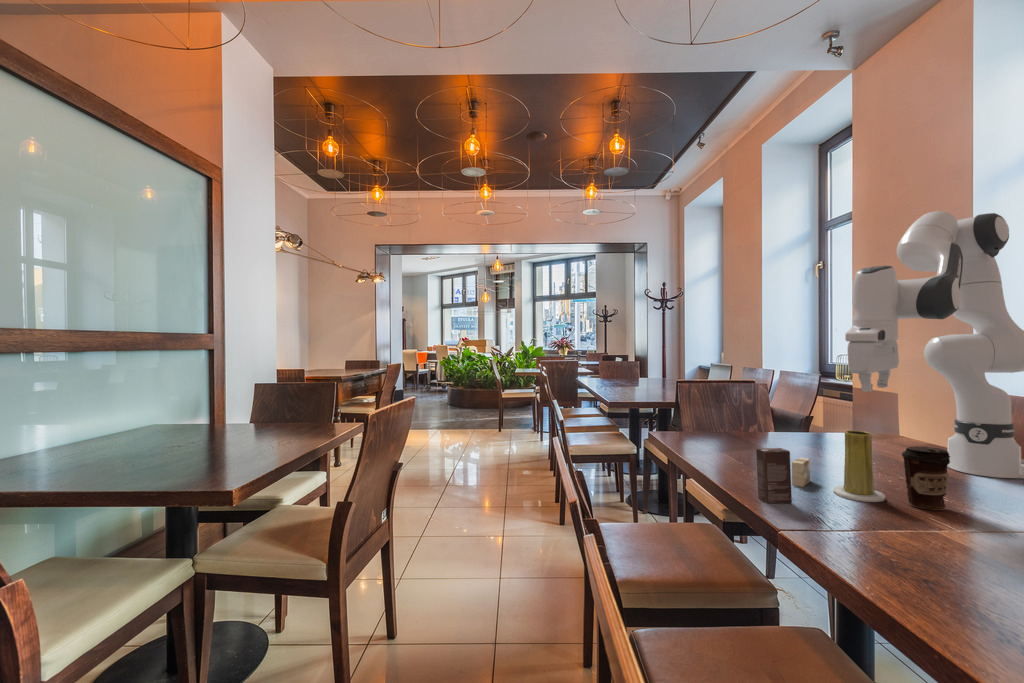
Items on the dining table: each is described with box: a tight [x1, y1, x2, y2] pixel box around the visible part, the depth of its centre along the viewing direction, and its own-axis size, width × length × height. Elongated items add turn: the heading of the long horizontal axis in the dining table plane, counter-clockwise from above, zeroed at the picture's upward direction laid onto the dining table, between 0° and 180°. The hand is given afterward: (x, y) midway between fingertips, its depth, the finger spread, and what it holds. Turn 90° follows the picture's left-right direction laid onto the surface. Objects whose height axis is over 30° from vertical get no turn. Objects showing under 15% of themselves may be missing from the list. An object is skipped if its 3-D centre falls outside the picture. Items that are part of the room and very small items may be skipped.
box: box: [755, 447, 793, 504], centre depth 111 cm, size 6×4×12 cm
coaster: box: [833, 485, 886, 503], centre depth 114 cm, size 10×10×1 cm
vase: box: [843, 430, 876, 495], centre depth 114 cm, size 6×6×14 cm
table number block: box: [791, 456, 811, 488], centre depth 124 cm, size 7×3×6 cm, turn 134°
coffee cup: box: [901, 445, 950, 511], centre depth 106 cm, size 9×8×13 cm
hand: (874, 389), depth 115 cm, fingers open, 8 cm apart
